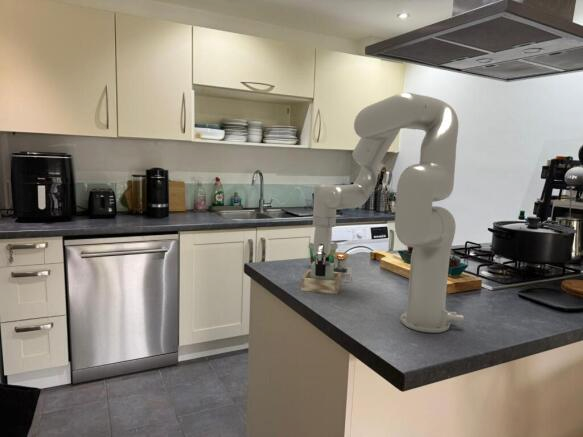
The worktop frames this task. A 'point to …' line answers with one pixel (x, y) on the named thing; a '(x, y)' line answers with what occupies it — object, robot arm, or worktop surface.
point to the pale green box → (328, 271)
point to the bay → (321, 283)
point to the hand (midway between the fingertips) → (322, 271)
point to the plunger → (340, 261)
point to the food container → (333, 250)
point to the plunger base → (346, 275)
